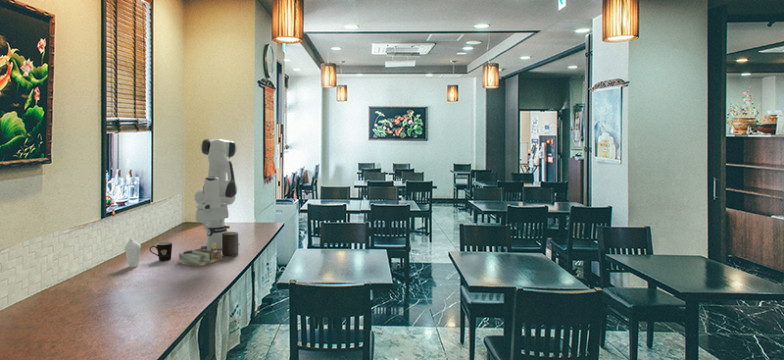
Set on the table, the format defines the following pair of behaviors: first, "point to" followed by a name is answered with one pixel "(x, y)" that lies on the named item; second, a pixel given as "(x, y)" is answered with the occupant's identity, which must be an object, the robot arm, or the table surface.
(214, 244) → the bar
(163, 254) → the coffee mug
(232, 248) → the pillar candle
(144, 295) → the table surface
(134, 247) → the soft serve ice cream cone
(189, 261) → the door board
